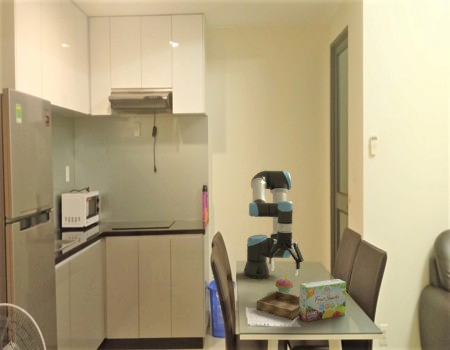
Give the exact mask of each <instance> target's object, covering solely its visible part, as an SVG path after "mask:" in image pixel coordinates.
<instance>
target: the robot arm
mask: <svg viewBox="0 0 450 350" xmlns="http://www.w3.org/2000/svg"><path fill="white" fill-rule="evenodd" d="M250 188H251V190H252V202H249V204H248V207H249V208H248V215H249V217H255V218H272V232H271V234H270V235H269V237H268V235H267V234H255V235H250V236H249V237H248V238H247V243H246V247H247V248H246V263H245V265H244V269H243V275H244V276H245V277H247V278H251V279H263V278H267V277H270V272H273V271H275V264H276V263H275V259H289V258H290V257H292V259H293V260H294V261H295V262H294V263H293V264H294V270H293V272H294V273H293V276H294V277H297V276H298V275H299V270H300V269H301V263H302V262H304V261H305V260H304V258H303V255H302V252H301V250H300V248H299V242H298V241H296V242H294V241H293V240H294V239H293V209H294V207H293V201H290V200H288V198H287V197H288V196H287V195H288V194H289V192H290V190H291V189H292V178H291V175H290V172H289V171H288V170H286V171H285V170H261V171H260V172H258V173H256V174H254V176H253V177H252V178H251V181H250ZM266 190H269V191H270V193H271V195H272V202H267V197H266V195H267V194H266ZM267 258H268V260H269V263H268V262H267ZM268 264H269V265H270V269H269V266H268Z"/></svg>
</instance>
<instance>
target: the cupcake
mask: <svg viewBox="0 0 450 350" xmlns="http://www.w3.org/2000/svg"><path fill="white" fill-rule="evenodd" d="M292 286H293V282H291V281H290V280H289V279H288V271H286V272H285V278H280V279H278V280H276V281H275V287H276V288H277V291H280V292H284V293H288V294H290V291H291V288H292Z"/></svg>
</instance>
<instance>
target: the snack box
mask: <svg viewBox="0 0 450 350" xmlns="http://www.w3.org/2000/svg"><path fill="white" fill-rule="evenodd" d="M299 296H300V299H299V316H298V318H299V319H301V320H302V321H303V322H305V323H307V322H312V321H316V320H317V321H318V320H323V319H329V318H335V317H340V316H345V315H346V304H347V303H346V301H347V298H346V297H347V281H344V280H342V279H340V278H335V279H334V278H333V279H328V280H320V281H311V282H306V283H305V282H304V283H300V284H299Z"/></svg>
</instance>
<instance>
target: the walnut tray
mask: <svg viewBox="0 0 450 350" xmlns="http://www.w3.org/2000/svg"><path fill="white" fill-rule="evenodd" d="M299 299H300V295H296V294H292V293H289V294H288V293H284V292H280V291H279V290H275V291H273V292H271V293H269V294H267V295H266V296H264V297H262V298H259V299H258V300H257V301H256V311H260V312H264V313H267V314H271V315H273V316H277V317H280V318H284V319H286V318H287V320H290V319H291V321H294V320H295V319H296V318H299Z"/></svg>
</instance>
